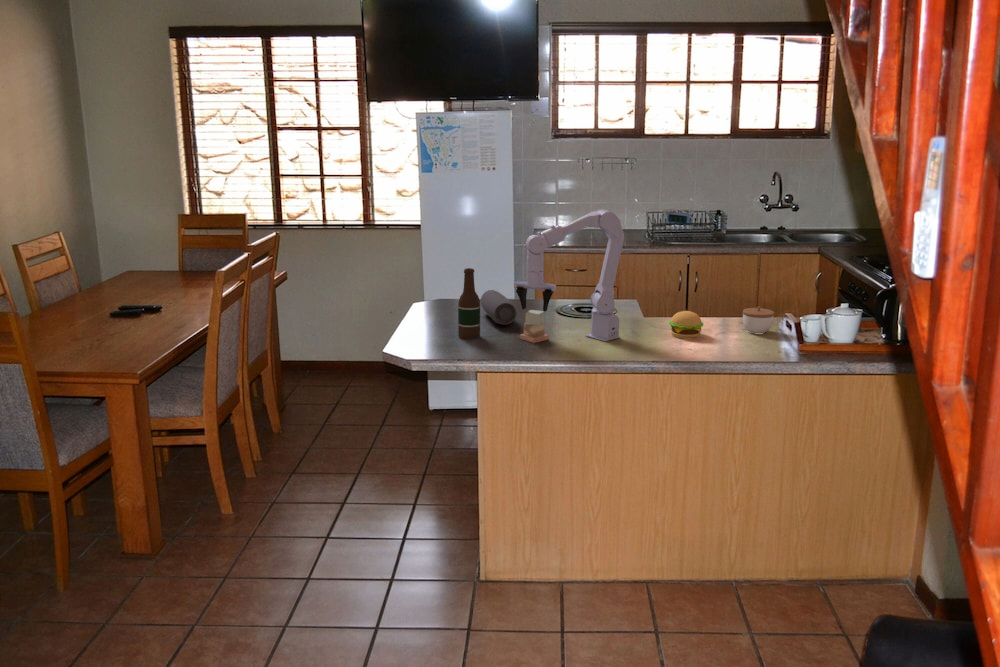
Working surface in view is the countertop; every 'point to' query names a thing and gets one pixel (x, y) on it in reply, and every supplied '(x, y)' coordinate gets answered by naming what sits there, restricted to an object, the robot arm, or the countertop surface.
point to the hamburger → (686, 325)
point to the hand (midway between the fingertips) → (534, 309)
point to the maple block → (533, 330)
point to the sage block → (534, 317)
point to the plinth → (534, 338)
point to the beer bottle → (469, 308)
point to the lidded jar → (757, 319)
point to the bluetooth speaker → (498, 307)
